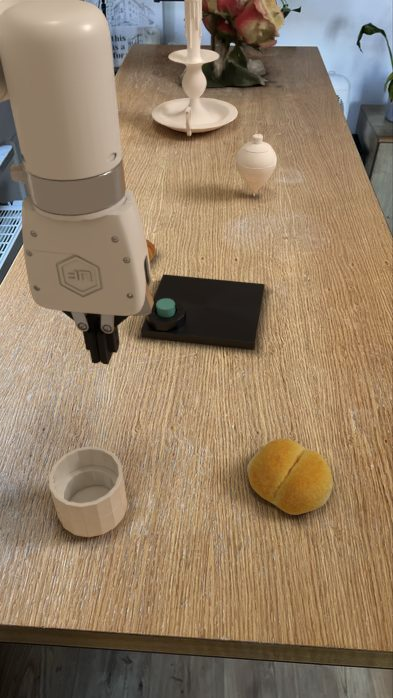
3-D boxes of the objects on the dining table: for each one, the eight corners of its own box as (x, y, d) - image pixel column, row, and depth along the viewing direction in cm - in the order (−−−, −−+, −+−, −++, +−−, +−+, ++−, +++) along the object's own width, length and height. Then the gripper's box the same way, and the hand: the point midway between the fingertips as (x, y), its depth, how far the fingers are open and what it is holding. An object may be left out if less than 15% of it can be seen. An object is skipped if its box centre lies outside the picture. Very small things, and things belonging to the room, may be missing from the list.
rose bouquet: (283, 87, 162) (293, -43, 142) (177, 88, 162) (173, -41, 142) (272, 59, 181) (280, -58, 162) (178, 61, 181) (174, -56, 161)
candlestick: (142, 148, 132) (131, 7, 114) (159, 109, 151) (152, -18, 132) (233, 151, 130) (238, 8, 112) (239, 111, 149) (244, -18, 130)
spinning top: (226, 196, 114) (227, 135, 106) (252, 183, 118) (255, 124, 111) (256, 209, 110) (260, 147, 102) (281, 195, 114) (287, 134, 106)
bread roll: (308, 531, 60) (313, 509, 57) (236, 486, 64) (237, 464, 61) (345, 477, 65) (351, 454, 62) (276, 439, 69) (278, 416, 66)
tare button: (154, 317, 82) (154, 308, 81) (159, 306, 84) (158, 297, 83) (173, 319, 82) (172, 310, 81) (176, 307, 84) (176, 299, 83)
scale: (141, 337, 83) (139, 321, 81) (163, 281, 93) (162, 265, 91) (254, 350, 81) (255, 333, 79) (264, 291, 91) (265, 275, 89)
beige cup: (48, 534, 60) (37, 500, 56) (72, 476, 65) (63, 442, 61) (116, 545, 59) (110, 511, 55) (135, 486, 64) (130, 451, 60)
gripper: (-33, 198, 45) (18, 373, 57) (160, 211, 43) (171, 388, 55) (6, 157, 50) (45, 324, 62) (178, 166, 48) (184, 337, 60)
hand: (104, 354), depth 59 cm, fingers closed
